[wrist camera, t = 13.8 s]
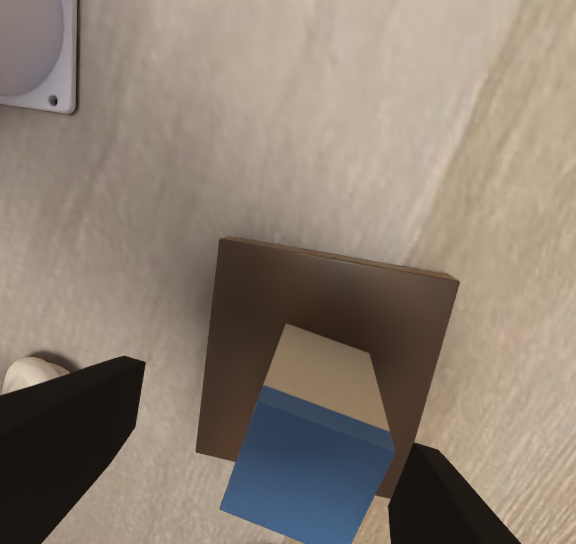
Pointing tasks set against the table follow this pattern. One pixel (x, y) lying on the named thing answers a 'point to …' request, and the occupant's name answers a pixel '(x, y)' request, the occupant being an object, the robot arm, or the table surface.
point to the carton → (312, 443)
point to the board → (319, 333)
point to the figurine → (30, 373)
